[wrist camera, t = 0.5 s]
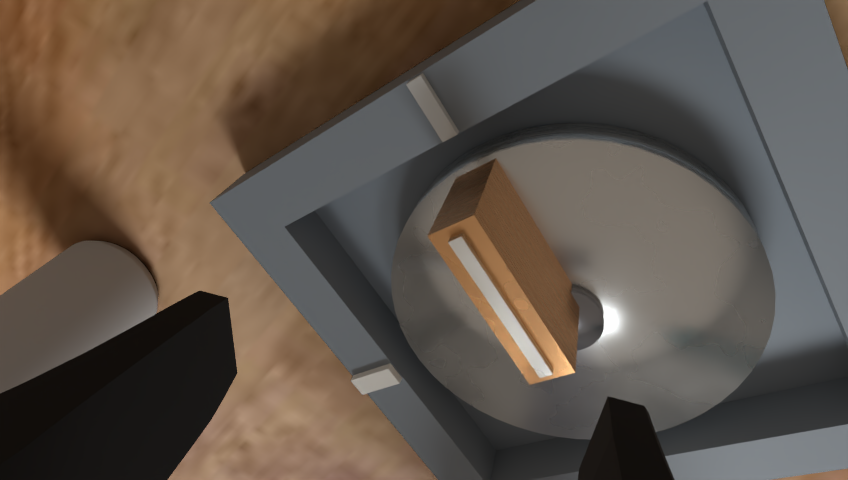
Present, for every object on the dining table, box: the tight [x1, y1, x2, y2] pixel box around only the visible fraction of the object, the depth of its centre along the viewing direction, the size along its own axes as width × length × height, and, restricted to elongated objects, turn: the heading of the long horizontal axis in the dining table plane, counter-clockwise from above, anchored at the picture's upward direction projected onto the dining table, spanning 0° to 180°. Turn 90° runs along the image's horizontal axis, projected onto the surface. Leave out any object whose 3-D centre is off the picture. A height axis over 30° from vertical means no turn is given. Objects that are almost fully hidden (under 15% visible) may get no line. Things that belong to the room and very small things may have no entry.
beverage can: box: [0, 241, 158, 393], centre depth 22 cm, size 5×5×12 cm
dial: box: [391, 123, 776, 440], centre depth 18 cm, size 12×12×5 cm
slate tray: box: [210, 0, 848, 480], centre depth 20 cm, size 18×18×3 cm
